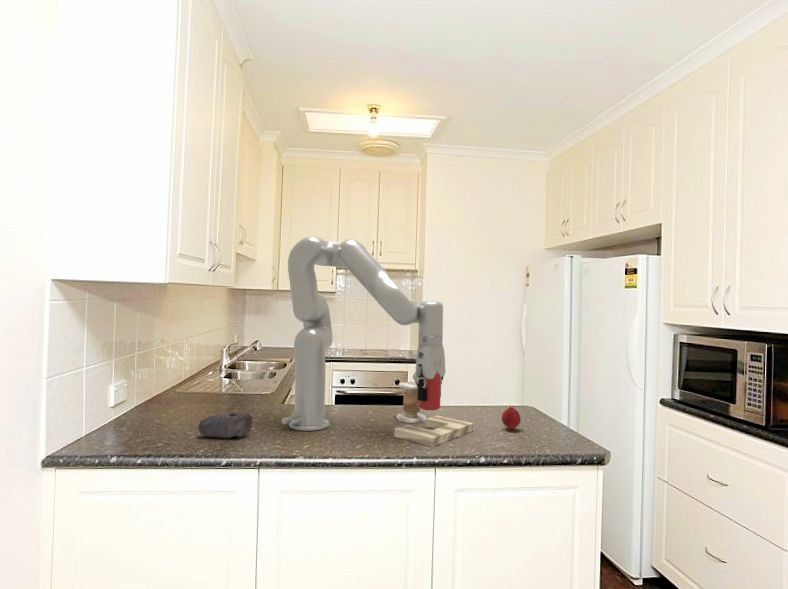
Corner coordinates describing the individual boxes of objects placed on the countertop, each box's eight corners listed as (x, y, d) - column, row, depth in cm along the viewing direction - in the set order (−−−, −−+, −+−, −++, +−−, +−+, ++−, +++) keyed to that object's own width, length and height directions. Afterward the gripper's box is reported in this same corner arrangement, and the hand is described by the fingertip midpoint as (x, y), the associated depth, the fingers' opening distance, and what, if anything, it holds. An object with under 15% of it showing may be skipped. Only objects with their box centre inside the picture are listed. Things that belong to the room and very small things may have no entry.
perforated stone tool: (194, 439, 137) (195, 415, 137) (201, 434, 142) (202, 410, 142) (247, 440, 137) (248, 416, 137) (252, 435, 142) (253, 411, 142)
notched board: (432, 447, 135) (433, 438, 135) (394, 436, 144) (394, 428, 144) (473, 431, 152) (473, 423, 152) (436, 422, 161) (436, 415, 161)
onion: (521, 429, 156) (522, 404, 156) (518, 433, 151) (518, 408, 151) (503, 426, 158) (504, 402, 158) (499, 430, 153) (500, 405, 153)
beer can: (440, 406, 153) (440, 368, 153) (440, 411, 146) (440, 371, 146) (419, 405, 153) (420, 367, 153) (418, 410, 147) (419, 370, 147)
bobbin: (414, 424, 158) (415, 388, 158) (390, 419, 165) (391, 383, 165) (431, 419, 166) (432, 384, 166) (408, 414, 172) (409, 380, 172)
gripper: (423, 344, 141) (422, 405, 141) (455, 340, 154) (454, 396, 154) (403, 342, 145) (402, 401, 145) (436, 338, 159) (435, 393, 159)
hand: (429, 398), depth 150 cm, fingers closed on beer can, 6 cm apart
